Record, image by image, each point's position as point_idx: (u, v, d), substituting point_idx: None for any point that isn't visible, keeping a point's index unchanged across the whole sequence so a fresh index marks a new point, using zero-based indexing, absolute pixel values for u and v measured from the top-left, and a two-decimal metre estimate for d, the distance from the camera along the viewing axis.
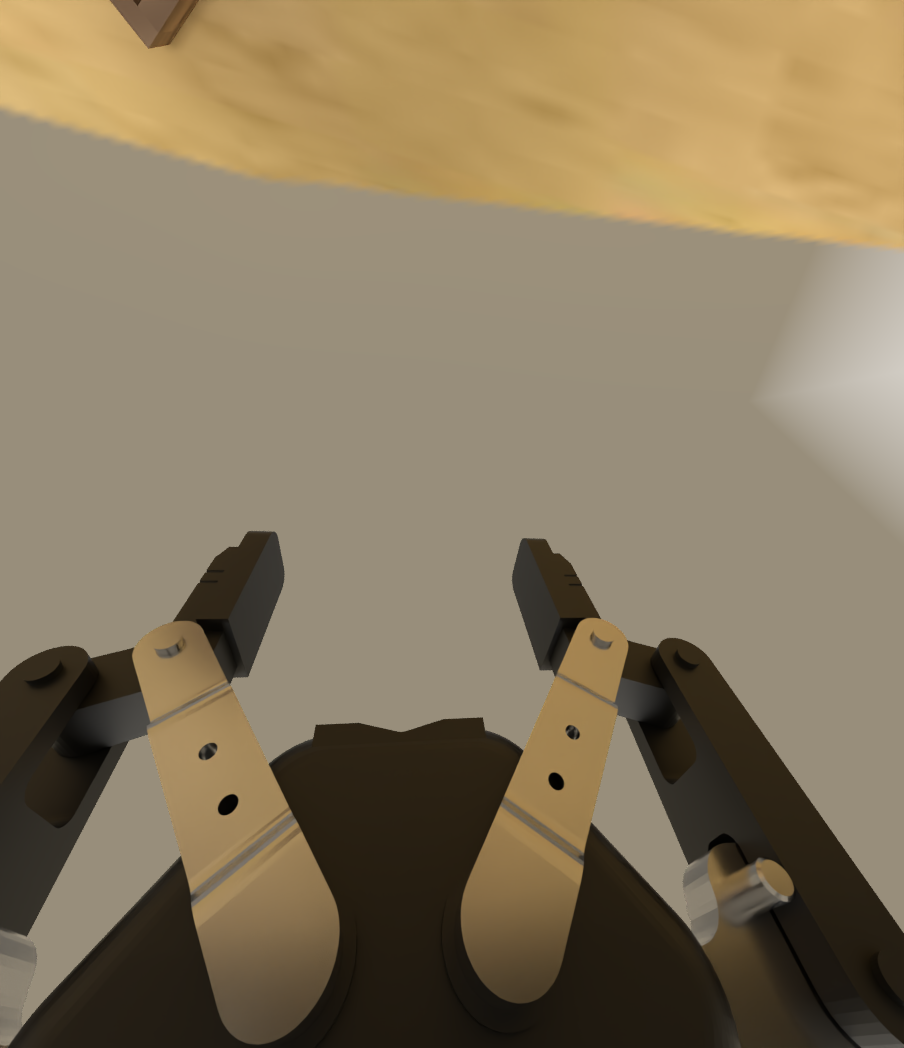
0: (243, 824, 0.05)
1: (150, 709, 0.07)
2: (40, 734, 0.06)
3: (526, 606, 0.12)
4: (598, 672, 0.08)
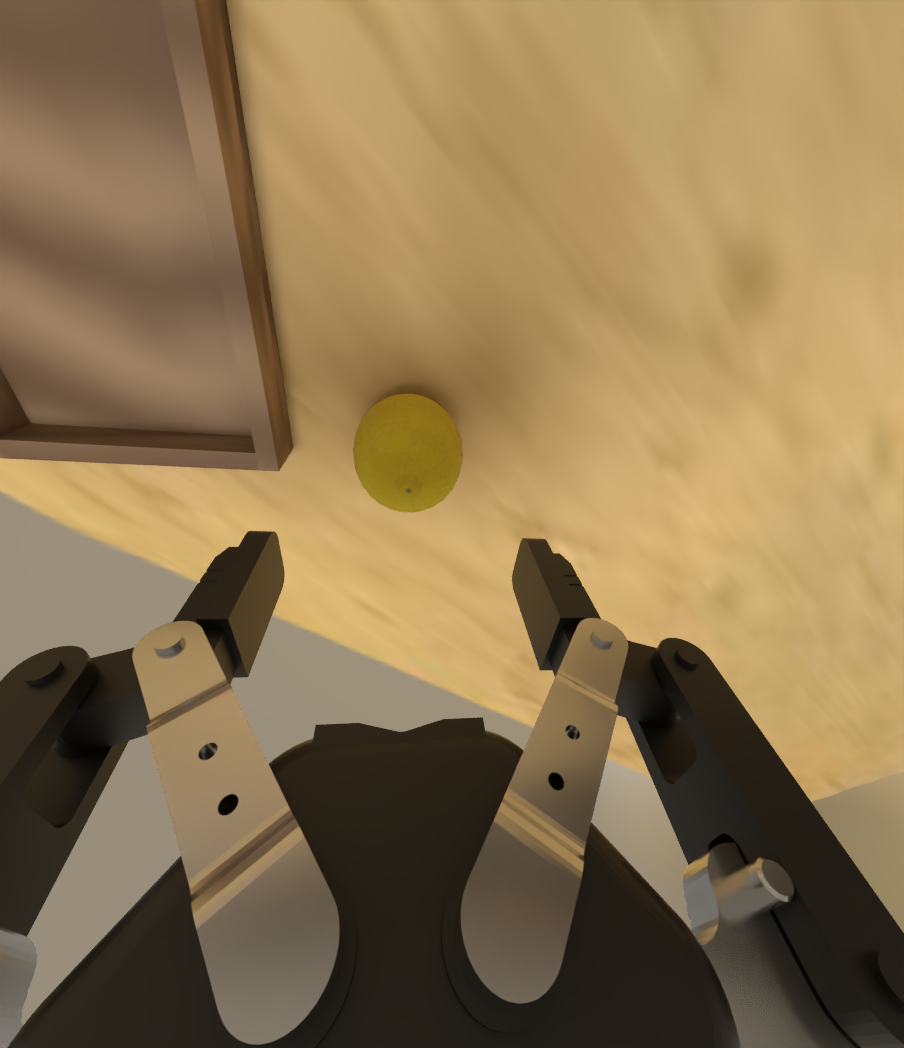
0: (243, 824, 0.05)
1: (150, 708, 0.07)
2: (40, 734, 0.06)
3: (526, 606, 0.12)
4: (598, 672, 0.08)
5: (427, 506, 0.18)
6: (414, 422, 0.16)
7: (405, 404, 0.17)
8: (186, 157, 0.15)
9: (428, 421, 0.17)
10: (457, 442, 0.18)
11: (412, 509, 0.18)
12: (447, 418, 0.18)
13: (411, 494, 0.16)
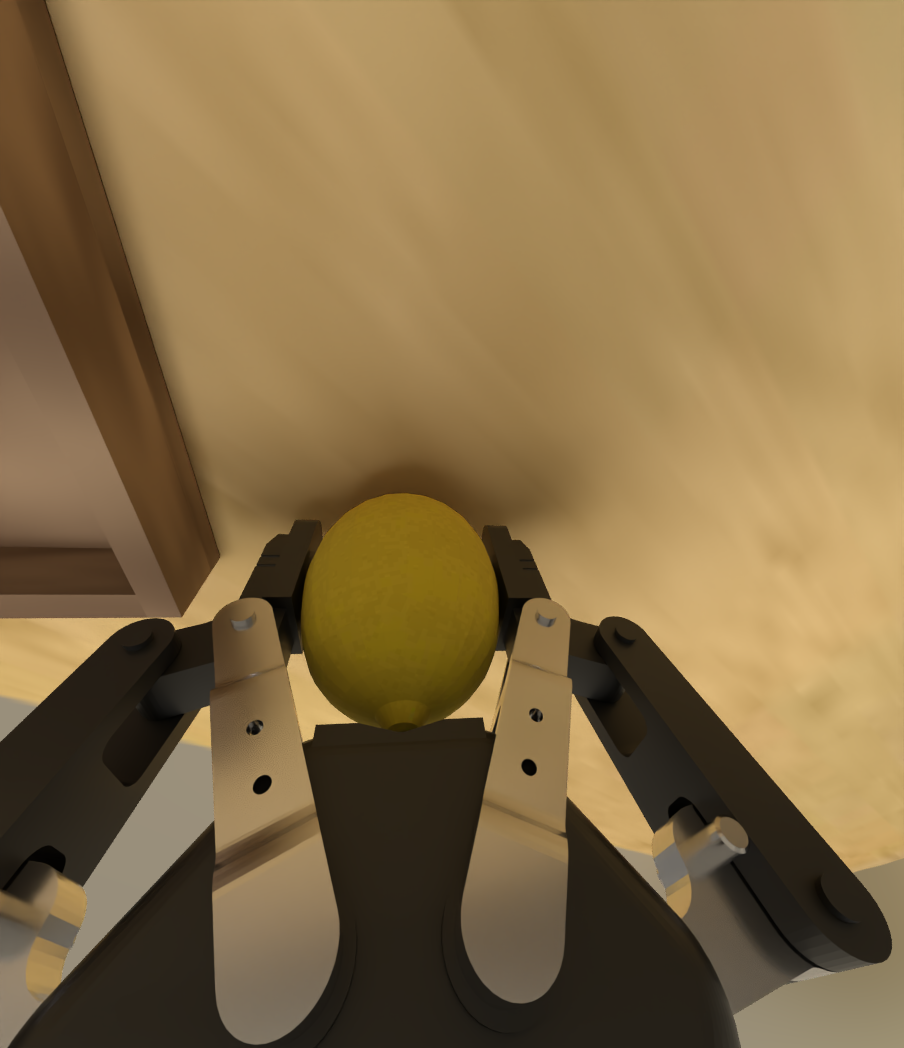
0: (243, 824, 0.05)
1: (217, 674, 0.07)
2: (123, 699, 0.07)
3: None
4: (548, 649, 0.08)
5: None
6: (413, 586, 0.08)
7: (396, 537, 0.09)
8: None
9: (442, 579, 0.08)
10: (494, 598, 0.10)
11: None
12: (474, 552, 0.10)
13: None
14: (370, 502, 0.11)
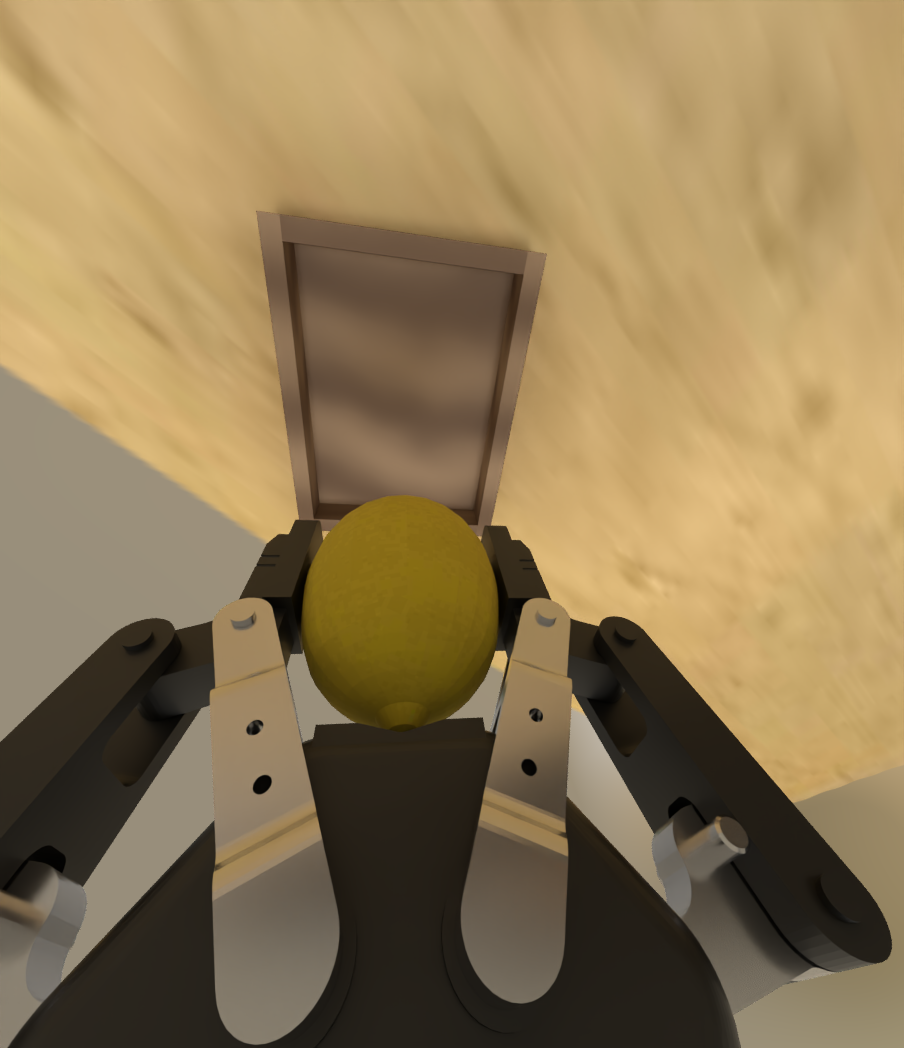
0: (243, 824, 0.05)
1: (217, 674, 0.07)
2: (124, 699, 0.07)
3: None
4: (548, 649, 0.08)
5: None
6: (413, 588, 0.08)
7: (396, 540, 0.09)
8: (482, 354, 0.24)
9: (441, 582, 0.08)
10: (493, 600, 0.10)
11: None
12: (474, 554, 0.10)
13: None
14: (370, 504, 0.11)
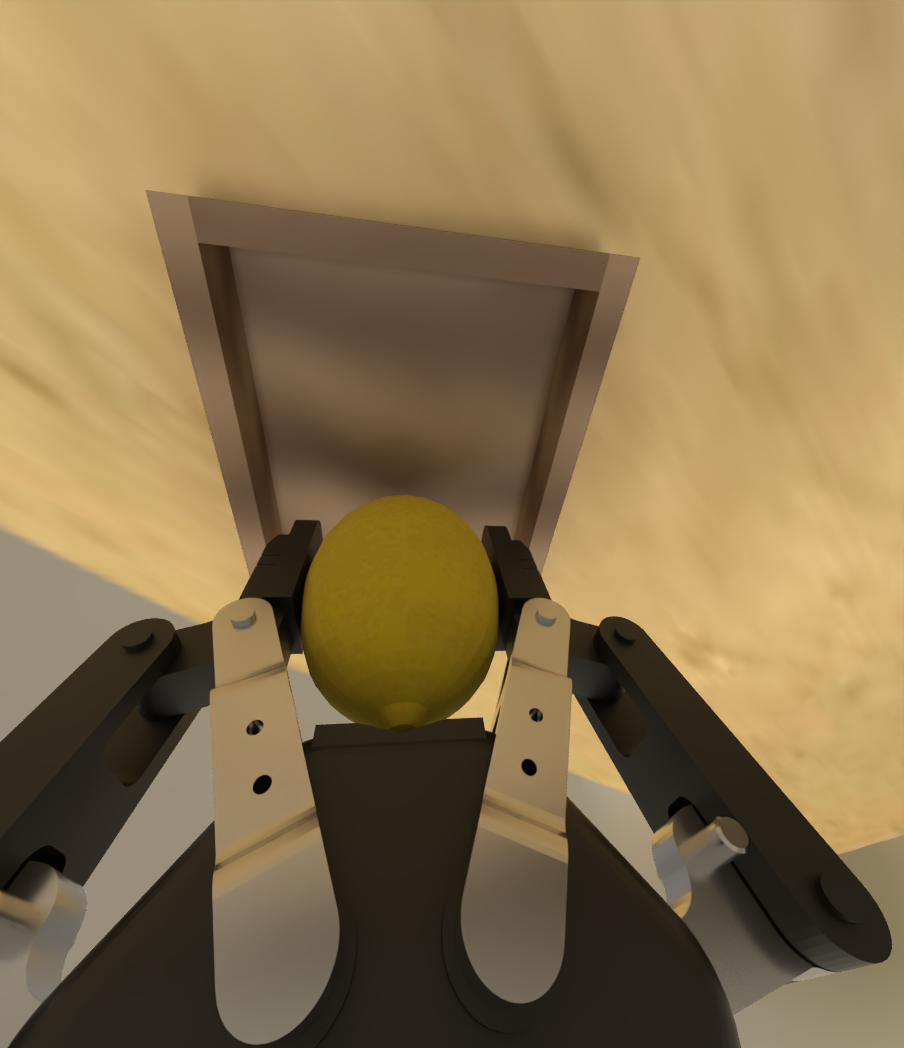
0: (243, 824, 0.05)
1: (217, 674, 0.07)
2: (123, 699, 0.07)
3: None
4: (548, 650, 0.08)
5: None
6: (413, 588, 0.08)
7: (396, 540, 0.09)
8: (520, 405, 0.16)
9: (441, 582, 0.08)
10: (493, 600, 0.10)
11: None
12: (474, 554, 0.10)
13: None
14: (370, 504, 0.11)
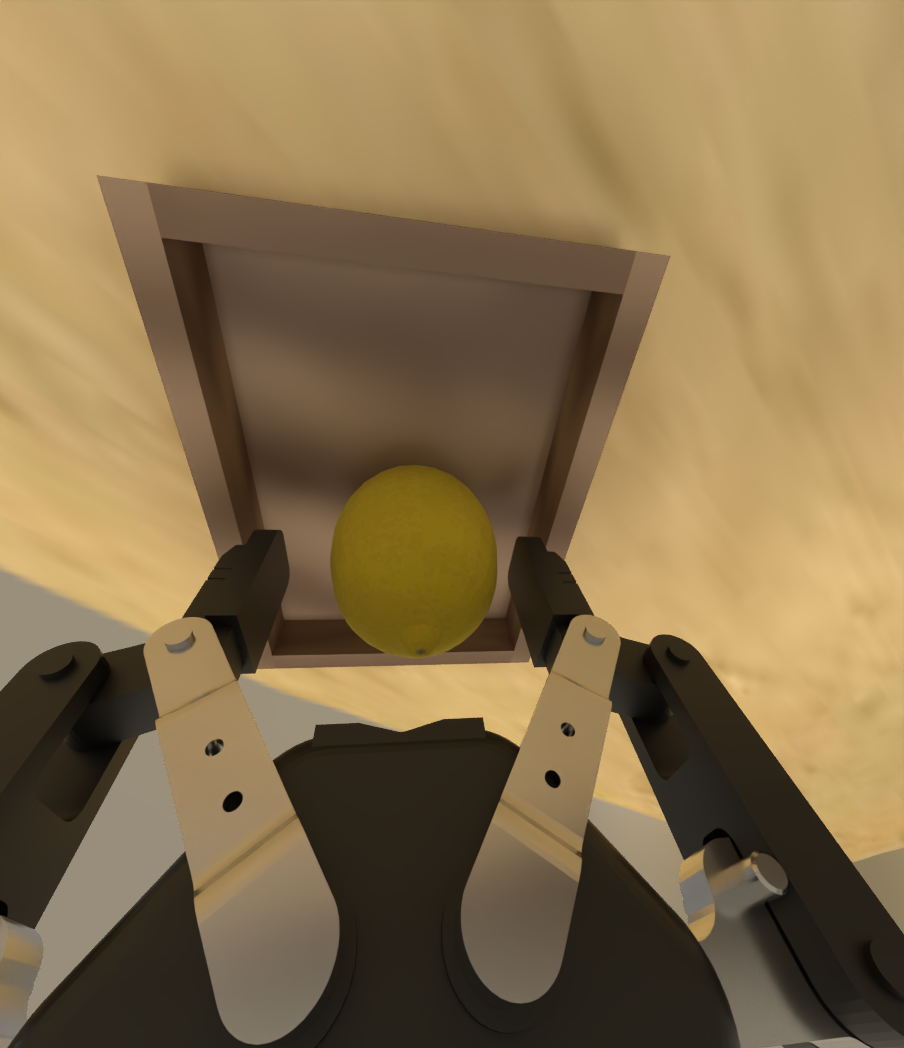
0: (243, 824, 0.05)
1: (159, 703, 0.07)
2: (52, 729, 0.06)
3: (521, 604, 0.12)
4: (591, 668, 0.08)
5: None
6: (427, 534, 0.10)
7: (411, 497, 0.11)
8: (530, 418, 0.15)
9: (450, 529, 0.10)
10: (493, 549, 0.11)
11: None
12: (476, 511, 0.12)
13: (425, 655, 0.10)
14: (386, 471, 0.12)
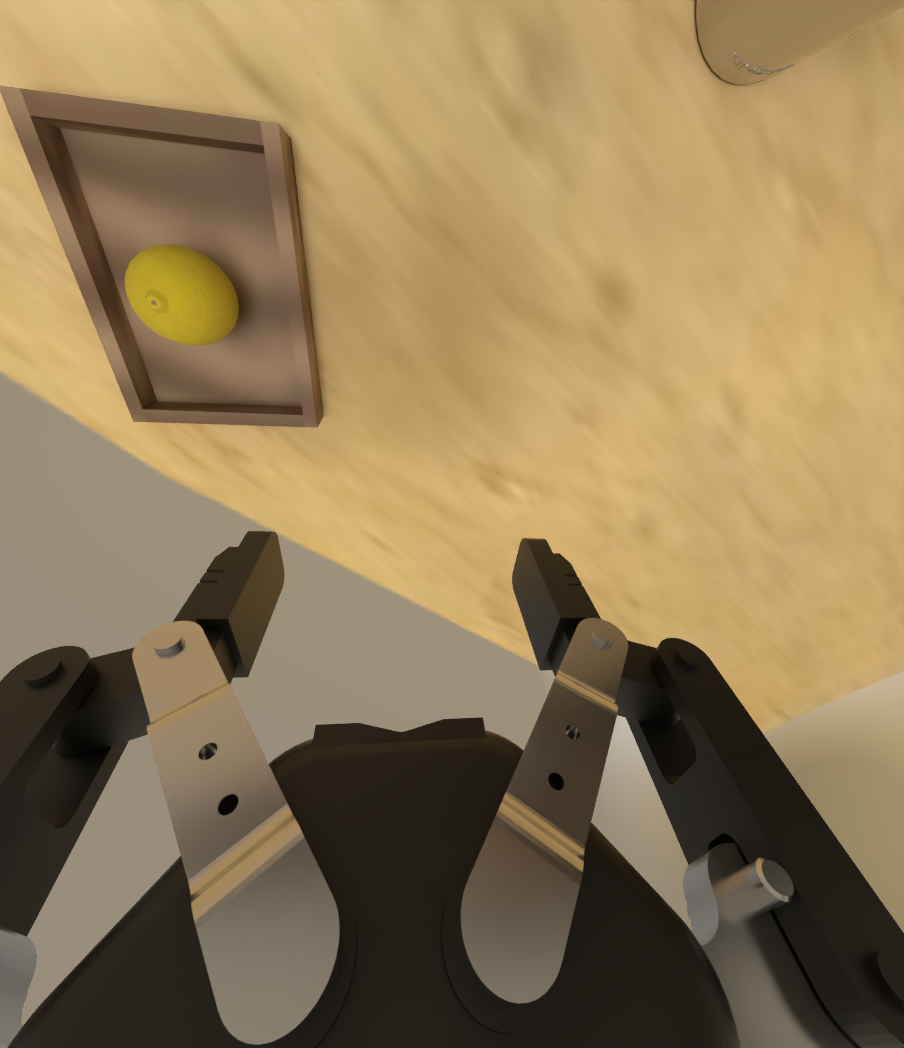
0: (243, 824, 0.05)
1: (149, 709, 0.07)
2: (40, 734, 0.06)
3: (526, 606, 0.12)
4: (599, 672, 0.08)
5: (189, 330, 0.23)
6: (159, 252, 0.21)
7: (161, 245, 0.22)
8: (268, 240, 0.26)
9: (174, 253, 0.21)
10: (210, 278, 0.23)
11: (176, 331, 0.23)
12: (203, 260, 0.23)
13: (158, 307, 0.21)
14: None
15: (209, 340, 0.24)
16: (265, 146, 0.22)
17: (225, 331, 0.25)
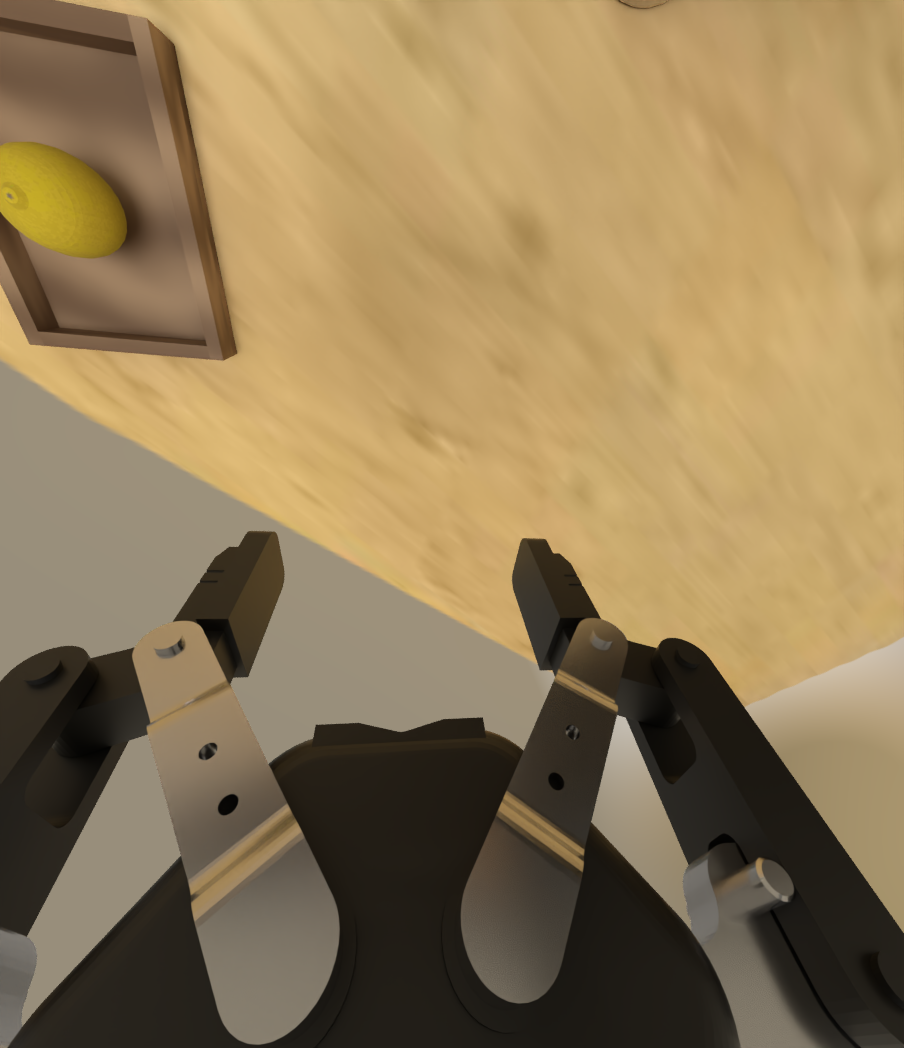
0: (243, 824, 0.05)
1: (150, 709, 0.07)
2: (40, 734, 0.06)
3: (526, 606, 0.12)
4: (598, 672, 0.08)
5: (57, 232, 0.22)
6: (18, 145, 0.21)
7: None
8: (158, 154, 0.26)
9: (35, 148, 0.21)
10: (80, 179, 0.22)
11: (43, 233, 0.22)
12: (73, 161, 0.22)
13: (15, 201, 0.21)
14: None
15: (87, 250, 0.24)
16: (135, 43, 0.21)
17: (106, 243, 0.24)
